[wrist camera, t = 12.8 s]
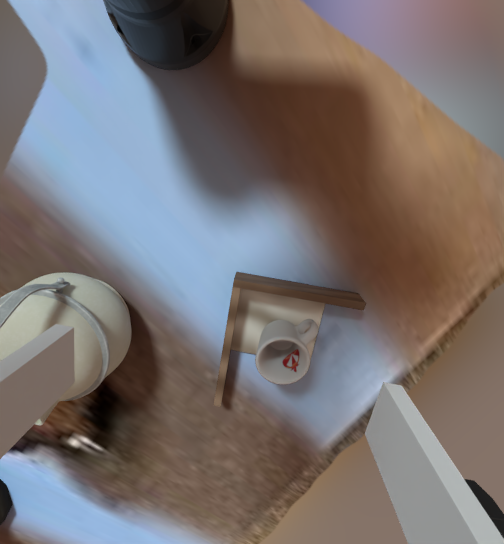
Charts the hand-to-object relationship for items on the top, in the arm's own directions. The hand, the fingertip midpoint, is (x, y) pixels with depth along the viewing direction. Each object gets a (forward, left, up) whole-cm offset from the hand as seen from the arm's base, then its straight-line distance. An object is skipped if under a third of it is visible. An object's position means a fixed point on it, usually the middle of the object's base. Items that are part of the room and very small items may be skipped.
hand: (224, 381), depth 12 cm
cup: (+15, +8, -35) cm, 38 cm away
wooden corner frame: (+18, +8, -35) cm, 40 cm away
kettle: (+20, -26, -35) cm, 48 cm away
